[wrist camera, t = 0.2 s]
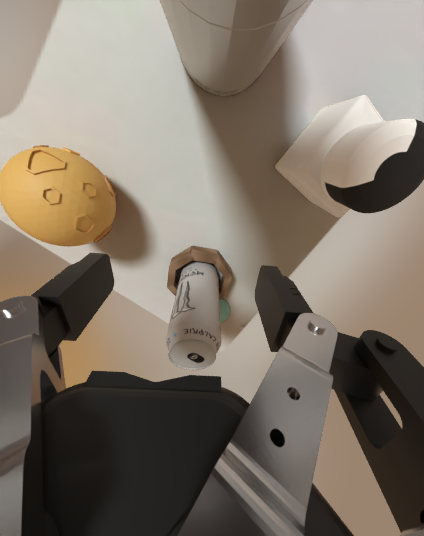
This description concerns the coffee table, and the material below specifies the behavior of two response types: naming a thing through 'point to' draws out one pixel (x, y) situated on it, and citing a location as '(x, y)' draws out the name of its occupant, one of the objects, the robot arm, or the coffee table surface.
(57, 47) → the coffee table surface
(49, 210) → the stress ball
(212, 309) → the energy drink can
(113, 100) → the coffee table surface
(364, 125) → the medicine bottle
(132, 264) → the coffee table surface
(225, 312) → the coaster
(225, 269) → the collar
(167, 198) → the coffee table surface
